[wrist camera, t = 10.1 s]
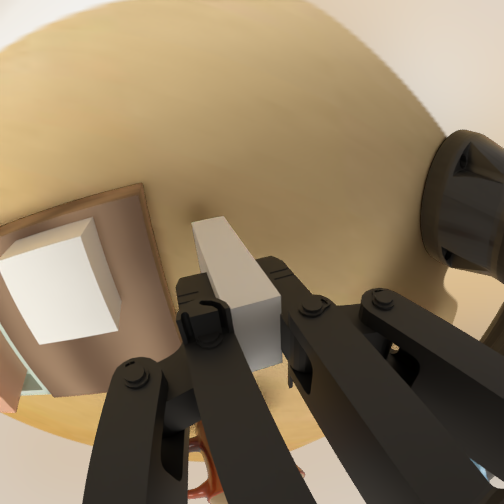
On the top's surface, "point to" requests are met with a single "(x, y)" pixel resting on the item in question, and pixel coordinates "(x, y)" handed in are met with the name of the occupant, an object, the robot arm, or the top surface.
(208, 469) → the mug
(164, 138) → the top surface
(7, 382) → the tile terracotta
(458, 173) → the robot arm
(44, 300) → the tile white
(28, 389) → the tray
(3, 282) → the board
